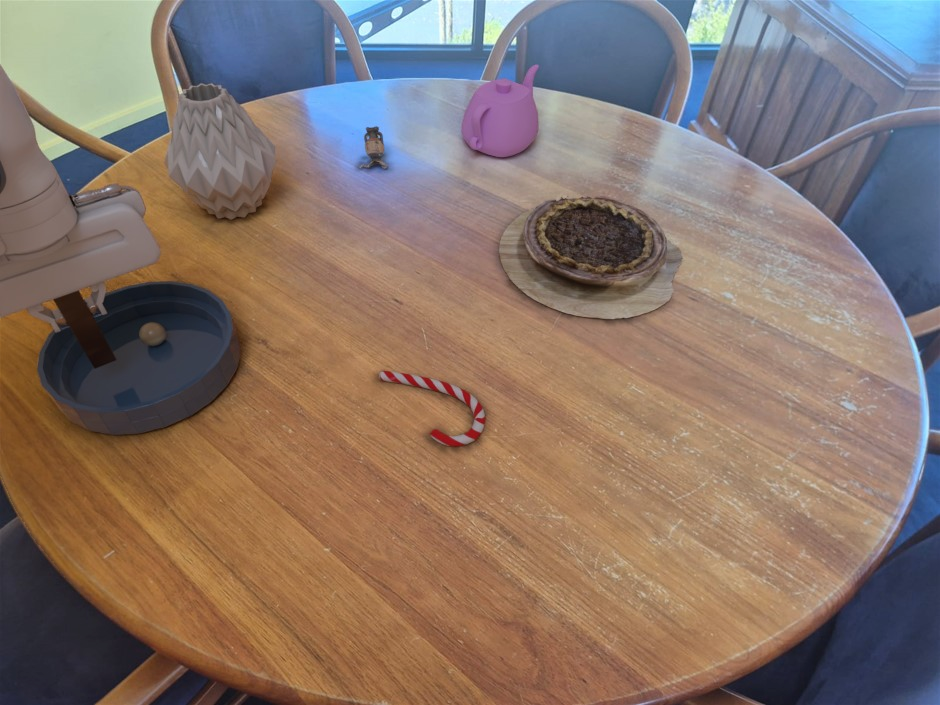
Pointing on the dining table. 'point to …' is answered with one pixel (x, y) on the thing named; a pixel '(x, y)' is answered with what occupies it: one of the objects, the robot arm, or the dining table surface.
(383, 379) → the candy cane
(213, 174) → the vase
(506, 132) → the teapot
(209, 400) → the bowl
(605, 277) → the pie
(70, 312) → the stick
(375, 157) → the vase
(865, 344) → the dining table surface
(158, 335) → the bead
